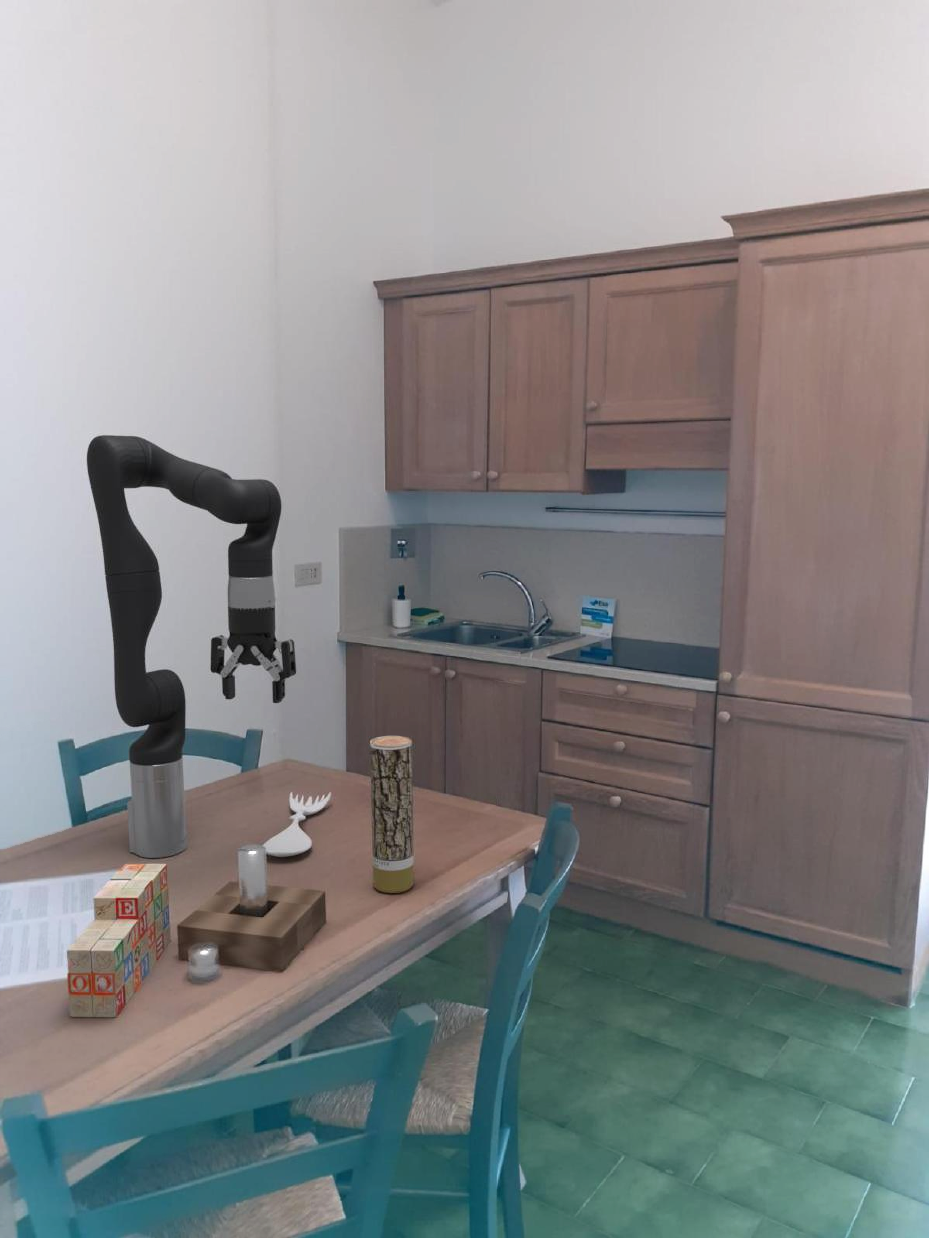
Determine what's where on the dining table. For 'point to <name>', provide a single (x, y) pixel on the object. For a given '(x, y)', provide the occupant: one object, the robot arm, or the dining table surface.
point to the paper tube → (392, 813)
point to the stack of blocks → (119, 941)
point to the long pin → (253, 880)
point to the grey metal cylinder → (204, 962)
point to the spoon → (295, 829)
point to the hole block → (255, 927)
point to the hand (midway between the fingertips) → (253, 700)
